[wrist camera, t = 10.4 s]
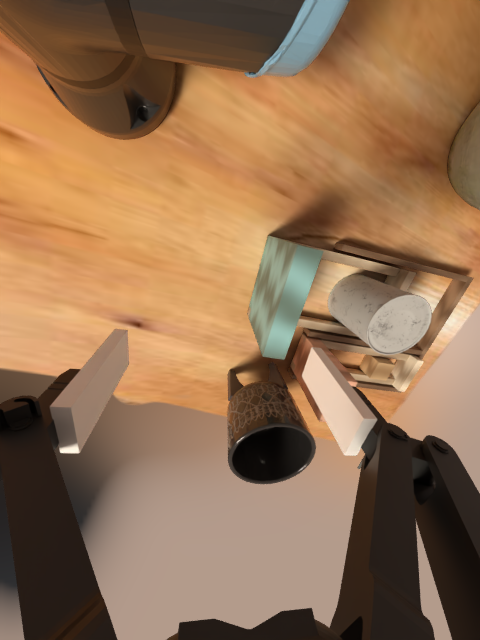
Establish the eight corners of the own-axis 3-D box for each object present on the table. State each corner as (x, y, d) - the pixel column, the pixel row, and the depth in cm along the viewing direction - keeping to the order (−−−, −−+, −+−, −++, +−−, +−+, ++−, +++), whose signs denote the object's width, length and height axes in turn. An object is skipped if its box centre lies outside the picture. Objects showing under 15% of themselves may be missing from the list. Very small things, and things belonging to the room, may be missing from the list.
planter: (284, 395, 52) (316, 475, 36) (228, 406, 51) (235, 492, 35) (280, 347, 46) (316, 416, 30) (217, 359, 46) (220, 435, 30)
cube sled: (302, 332, 45) (339, 379, 32) (408, 350, 50) (478, 398, 37) (290, 365, 48) (318, 421, 35) (391, 379, 53) (449, 433, 40)
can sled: (267, 235, 37) (298, 244, 24) (398, 268, 42) (483, 291, 29) (247, 313, 42) (262, 356, 29) (365, 334, 47) (424, 379, 34)
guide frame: (336, 242, 39) (343, 244, 37) (460, 274, 44) (473, 278, 42) (287, 371, 49) (291, 378, 47) (393, 385, 54) (400, 392, 52)
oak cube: (366, 351, 49) (378, 362, 46) (382, 354, 50) (395, 365, 46) (358, 366, 51) (369, 378, 47) (374, 369, 52) (386, 380, 48)
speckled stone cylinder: (351, 264, 41) (404, 281, 30) (385, 290, 44) (445, 315, 33) (317, 306, 44) (353, 337, 32) (351, 329, 46) (395, 364, 35)
